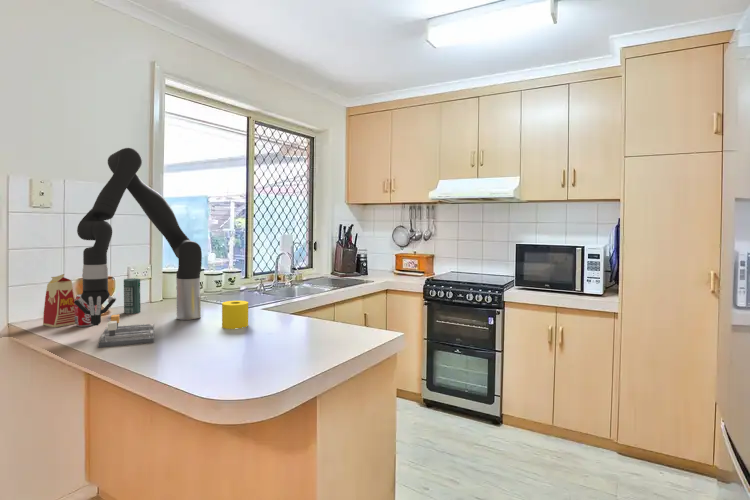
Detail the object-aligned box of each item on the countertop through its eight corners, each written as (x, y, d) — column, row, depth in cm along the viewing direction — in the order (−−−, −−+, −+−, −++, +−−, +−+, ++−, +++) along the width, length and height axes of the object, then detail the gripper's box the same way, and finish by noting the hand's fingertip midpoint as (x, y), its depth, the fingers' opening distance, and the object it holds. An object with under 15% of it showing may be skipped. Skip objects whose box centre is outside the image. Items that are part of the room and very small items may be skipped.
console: (154, 327, 167) (154, 321, 167) (153, 342, 148) (153, 335, 147) (105, 331, 160) (105, 325, 160) (98, 347, 140) (98, 340, 140)
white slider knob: (117, 335, 149) (116, 320, 149) (116, 338, 146) (115, 323, 145) (108, 336, 148) (108, 321, 148) (107, 338, 145) (107, 323, 144)
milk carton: (80, 322, 173) (79, 273, 171) (54, 327, 164) (53, 275, 163) (66, 320, 176) (65, 271, 175) (41, 324, 168) (39, 273, 167)
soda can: (100, 323, 172) (100, 293, 171) (87, 327, 165) (86, 296, 164) (84, 322, 173) (83, 293, 172) (70, 327, 166) (69, 296, 165)
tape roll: (216, 327, 170) (216, 303, 170) (233, 322, 180) (233, 299, 179) (237, 330, 167) (237, 306, 166) (253, 324, 176) (253, 301, 175)
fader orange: (119, 328, 159) (119, 314, 158) (118, 330, 156) (118, 316, 155) (112, 328, 158) (111, 314, 157) (111, 331, 154) (110, 316, 154)
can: (143, 311, 196) (142, 278, 195) (134, 314, 190) (133, 280, 189) (130, 310, 197) (130, 278, 196) (121, 313, 191) (120, 279, 190)
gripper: (118, 275, 159) (118, 321, 160) (74, 276, 153) (75, 324, 154) (116, 277, 153) (116, 326, 154) (70, 278, 147) (71, 329, 148)
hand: (95, 325), depth 154 cm, fingers closed
